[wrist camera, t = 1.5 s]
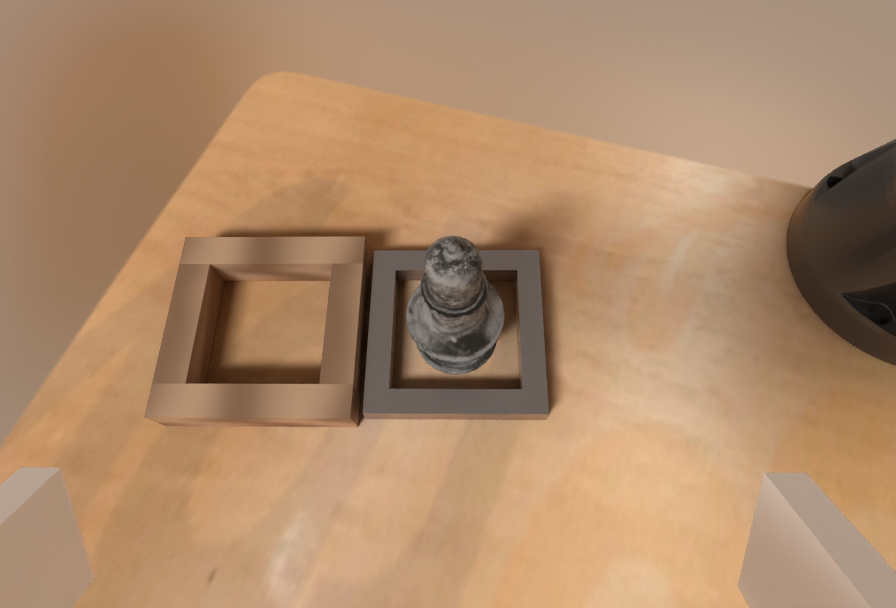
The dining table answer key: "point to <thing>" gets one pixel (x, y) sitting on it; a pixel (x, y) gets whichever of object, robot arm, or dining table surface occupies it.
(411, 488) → the dining table surface
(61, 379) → the dining table surface
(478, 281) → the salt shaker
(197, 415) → the walnut holder block
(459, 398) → the metal collar
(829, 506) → the robot arm
